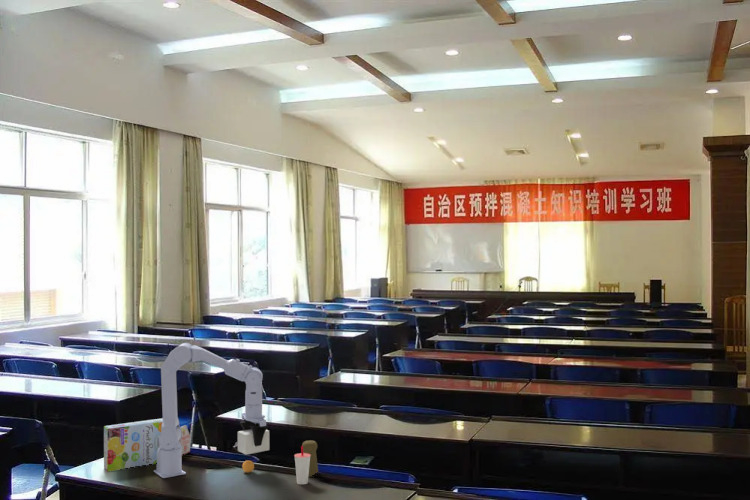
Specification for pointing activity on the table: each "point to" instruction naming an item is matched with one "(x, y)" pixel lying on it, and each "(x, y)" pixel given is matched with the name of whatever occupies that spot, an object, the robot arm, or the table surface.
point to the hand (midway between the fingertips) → (253, 443)
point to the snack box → (131, 444)
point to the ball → (248, 466)
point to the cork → (311, 449)
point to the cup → (302, 466)
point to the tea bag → (185, 440)
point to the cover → (251, 442)
